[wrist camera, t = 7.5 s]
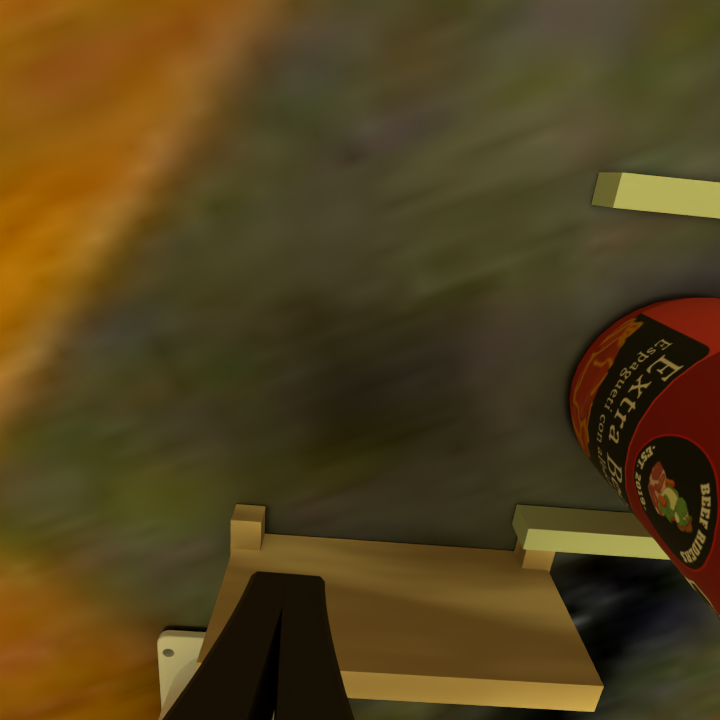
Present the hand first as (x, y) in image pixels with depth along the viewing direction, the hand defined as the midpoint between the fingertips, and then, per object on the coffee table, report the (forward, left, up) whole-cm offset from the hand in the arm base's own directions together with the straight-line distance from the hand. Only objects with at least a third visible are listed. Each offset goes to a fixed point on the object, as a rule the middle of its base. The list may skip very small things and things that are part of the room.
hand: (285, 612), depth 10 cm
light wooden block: (-7, -4, -10) cm, 13 cm away
